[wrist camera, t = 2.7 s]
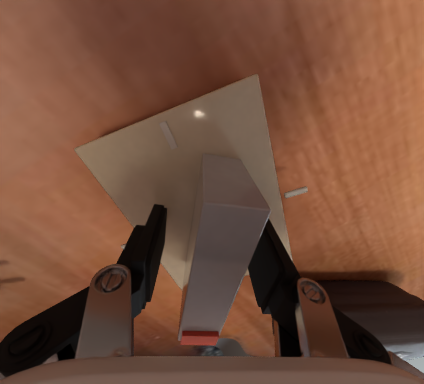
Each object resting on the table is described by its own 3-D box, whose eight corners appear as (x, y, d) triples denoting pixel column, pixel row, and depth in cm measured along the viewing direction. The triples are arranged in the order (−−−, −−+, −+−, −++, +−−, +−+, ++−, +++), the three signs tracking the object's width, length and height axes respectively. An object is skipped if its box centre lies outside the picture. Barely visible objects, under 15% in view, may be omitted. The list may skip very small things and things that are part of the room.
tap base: (80, 145, 12) (44, 160, 9) (270, 67, 10) (295, 57, 8) (171, 268, 19) (166, 299, 16) (295, 232, 17) (314, 259, 14)
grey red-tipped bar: (202, 152, 10) (203, 206, 5) (241, 159, 10) (275, 215, 5) (185, 263, 14) (177, 346, 9) (212, 265, 14) (217, 347, 10)
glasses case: (256, 324, 24) (282, 400, 16) (260, 250, 22) (291, 295, 14) (383, 320, 24) (465, 390, 17) (395, 249, 23) (492, 290, 15)
